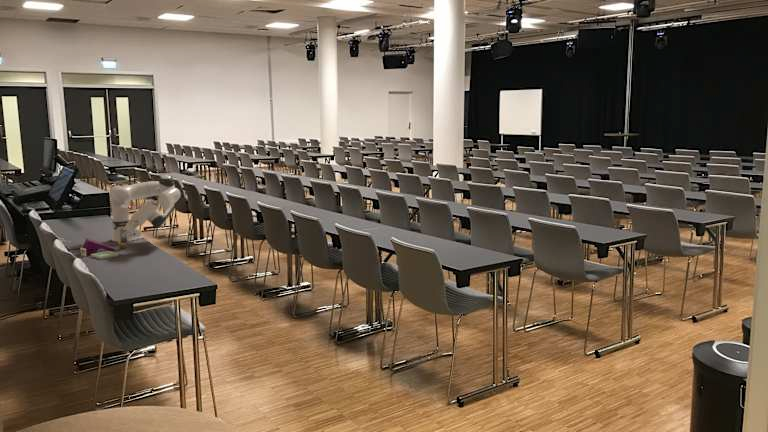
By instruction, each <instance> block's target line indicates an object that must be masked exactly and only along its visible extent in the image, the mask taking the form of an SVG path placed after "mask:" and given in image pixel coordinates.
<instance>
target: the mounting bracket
mask: <svg viewBox="0 0 768 432" xmlns="http://www.w3.org/2000/svg"><path fill="white" fill-rule="evenodd" d="M82 248H85V249H86V255H88V256H91V254H94V253H98V251H99V250H100V249H103V250H105V251H111V252H115V249H116V248H115V247H113V246H111V245H109V244H105V243H103V242H100V241H96V240H94V239H90V238H88V237H86V238H85V241H84V244H83V247H82Z"/></svg>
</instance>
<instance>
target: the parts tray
mask: <svg viewBox="0 0 768 432" xmlns="http://www.w3.org/2000/svg"><path fill="white" fill-rule="evenodd" d="M119 255H120V254H119V253H117V252H115V251H114V252H112V251H108V250H105V251H101V252H100V251H99V252H97V253H94V254H91V255H90V258H93V259H97V260H100V261H101V260H105V259H110V258H116V257H119Z"/></svg>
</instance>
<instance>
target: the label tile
mask: <svg viewBox="0 0 768 432" xmlns="http://www.w3.org/2000/svg"><path fill="white" fill-rule="evenodd" d="M87 255H88V254H87V253H86V249H85V248H83V247H80V256H82V257H87Z"/></svg>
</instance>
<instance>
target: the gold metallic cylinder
mask: <svg viewBox="0 0 768 432" xmlns="http://www.w3.org/2000/svg"><path fill="white" fill-rule="evenodd" d="M126 248H127V243H121V240H120V238H119V241H118V249H119V250H126Z"/></svg>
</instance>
